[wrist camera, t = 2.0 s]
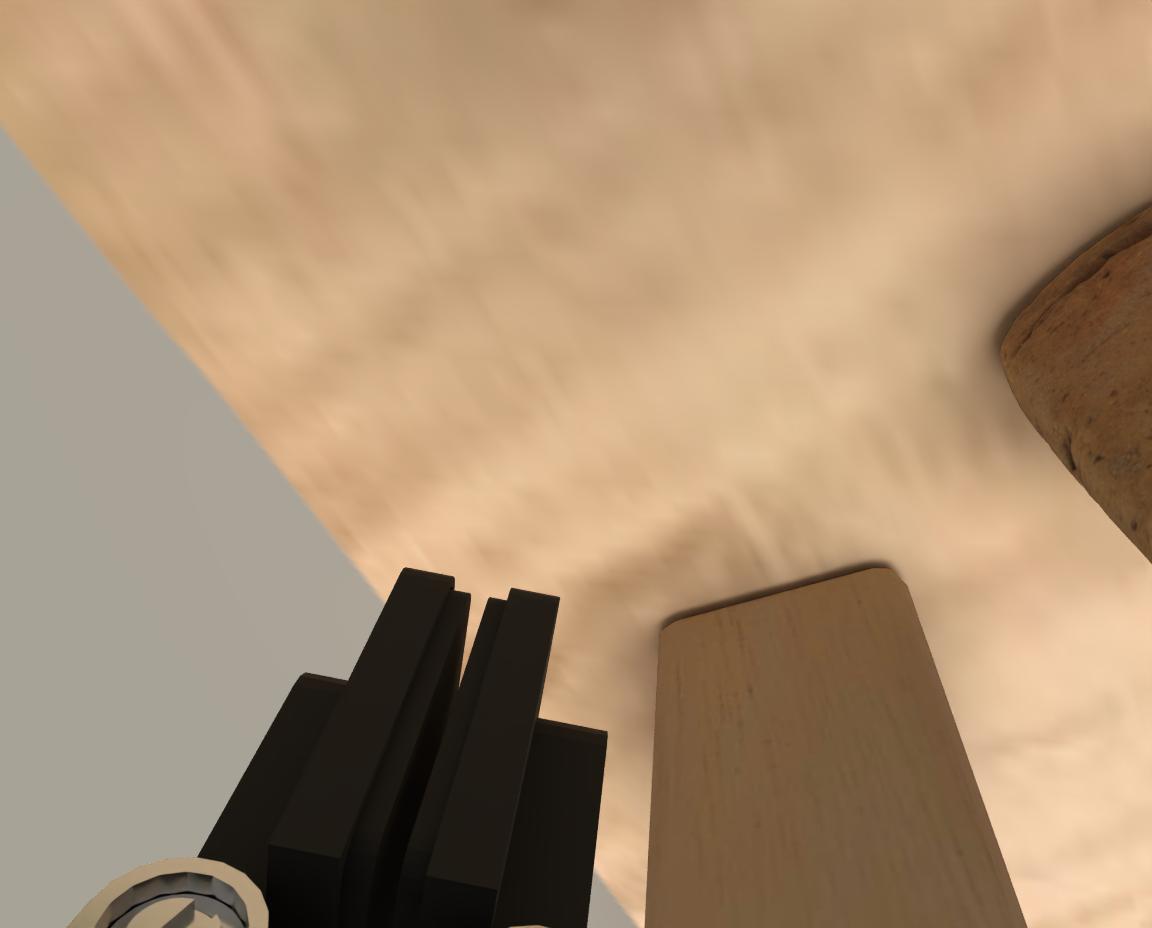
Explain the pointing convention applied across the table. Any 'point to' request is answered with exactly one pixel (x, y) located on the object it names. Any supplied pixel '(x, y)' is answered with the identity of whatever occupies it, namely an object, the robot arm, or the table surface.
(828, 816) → the wooden block
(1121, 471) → the brown rounded lump
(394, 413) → the table surface
